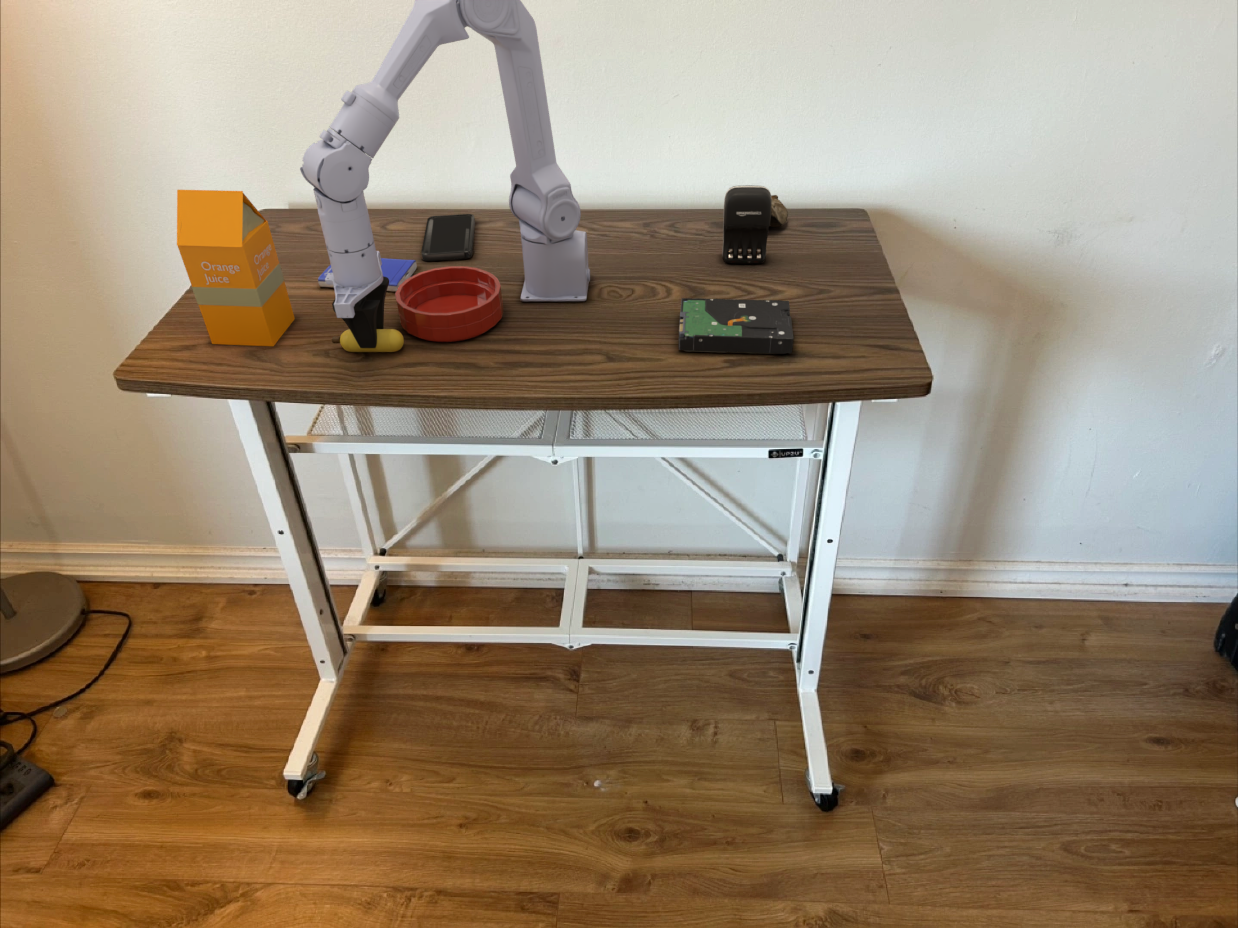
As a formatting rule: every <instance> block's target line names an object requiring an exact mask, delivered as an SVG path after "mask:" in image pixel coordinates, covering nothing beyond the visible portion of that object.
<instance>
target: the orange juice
mask: <svg viewBox="0 0 1238 928" xmlns="http://www.w3.org/2000/svg"><path fill="white" fill-rule="evenodd" d="M176 246H177V249H178V251H179V254H180V257H181V260H182V262H183V266H184V269H185V271H186V274H187V277H188V280H189V283H190V285H191V289H192V292H193V295H194V298H195V301H196V303H197V305H198V309H199V310H200V313H201V316H202V319H203V322H204V324H205V328H206V331H207V333H208V337H209V339H210V342H211V345H224V346H225V345H229V346H251V347H252V346H256V347H274V346H276V344H277V343H278V341H279V340H280V339H281V338H282V336H283V335H284V334H285V333H286V331H287V330H288V328H289V327H290V326H291V324H292V323H293V322H294V321H295V319H296V318H295V314H294V311H293V307H292V303H291V300H290V296H289V293H288V289H287V286H286V282H285V277H284V272H283V270H282V266H281V262H280V261H279V257H278V253H277V249H276V246H275V243H274V239H273V236H272V232H271V227H270V225H269V221H268V220H267V219H266V218H265V217H264V216H263V215H262V213H260V211H259V210H258V209H257V207H256V206H255V205H254V204H253V202H252V201H251V200H250V199H249V198H248V197H247V195H245V193H244V191H243V190H218V189H217V190H216V189H215V190H214V189H213V190H212V189H211V190H210V189H176Z"/></svg>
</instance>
